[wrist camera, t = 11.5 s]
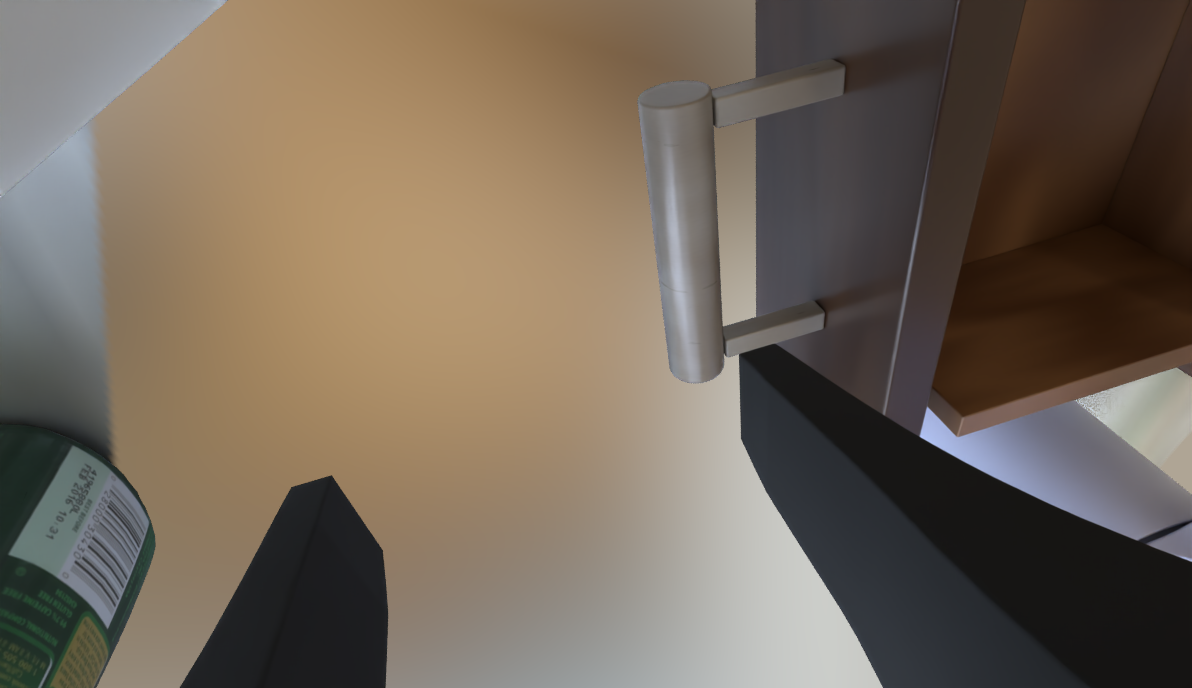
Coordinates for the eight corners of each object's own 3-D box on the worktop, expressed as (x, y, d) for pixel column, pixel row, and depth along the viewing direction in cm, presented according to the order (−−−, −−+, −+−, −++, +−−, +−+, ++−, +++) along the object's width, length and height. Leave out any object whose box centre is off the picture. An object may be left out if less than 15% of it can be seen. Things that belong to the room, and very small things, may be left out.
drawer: (641, 370, 21) (720, 538, 16) (564, -113, 13) (680, -91, 8) (1080, 240, 23) (1284, 355, 18) (1272, -272, 14) (1778, -344, 9)
